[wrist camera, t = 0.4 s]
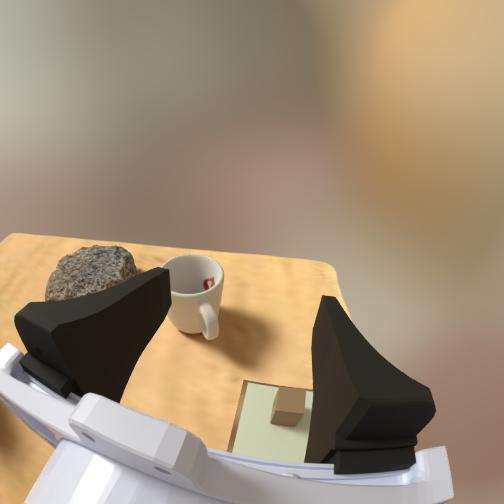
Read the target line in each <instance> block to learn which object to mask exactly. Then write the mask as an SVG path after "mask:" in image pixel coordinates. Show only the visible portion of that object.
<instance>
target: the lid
mask: <svg viewBox="0 0 504 504" xmlns="http://www.w3.org/2000/svg"><path fill="white" fill-rule="evenodd" d="M312 401H313V392H311V391H306V390H304V389H296V388H288V387H280V386H279V387H272V386H266V385H259V384H254V383H248V385H247V389H246V394H245V399H244V403H243V408H242V412H241V417H240V421H239V425H238V430H237V434H236V438H235V443H234V447H233V451H232V453H235V454H240V455H246V456H251V457H257V458H264V459H271V460H279V461H288V462H299V463H304V459H305V454H306V448H307V442H308V435H309V428H310V421H311V412H312Z"/></svg>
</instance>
